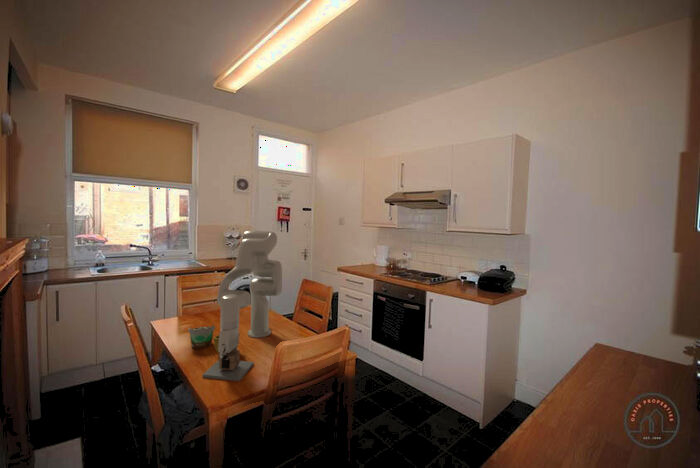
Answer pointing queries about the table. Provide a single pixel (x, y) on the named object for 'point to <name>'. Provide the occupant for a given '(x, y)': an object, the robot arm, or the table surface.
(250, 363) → the slate board
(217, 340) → the flower pot
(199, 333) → the food container
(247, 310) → the table surface
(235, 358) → the walnut cube
